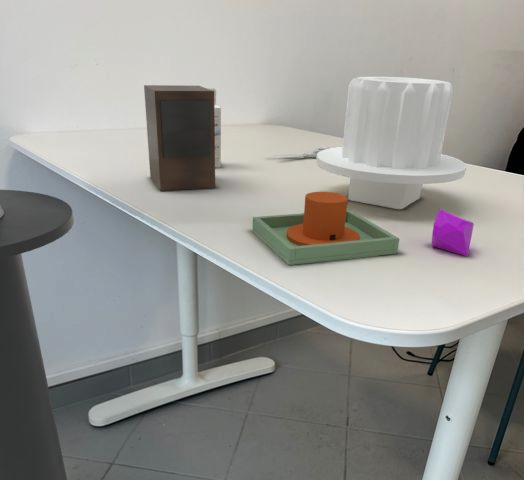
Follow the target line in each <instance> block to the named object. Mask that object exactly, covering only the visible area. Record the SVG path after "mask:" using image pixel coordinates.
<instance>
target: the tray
mask: <svg viewBox="0 0 524 480" xmlns="http://www.w3.org/2000/svg"><path fill="white" fill-rule="evenodd" d="M303 221H304V212H301V213H289V214H276V215H262V216H252V223H251V224H252V225H251V226H252V228H251V232H253V233H254V234H255V236H257V237H258V238H259V239H260V240H261V241H262V242H263V243H264V244H265V245H266V246H268V247H269V249H271V250H272V252H274V253H275V254H276V255H277V256H278V257H280V258H281V259H282V261H284V262H285V263H286V264H287V265H288V266H293V265H303V264H311V263H312V264H313V263H321V262H330V261H331V262H332V261H339V260H349V259H359V258H368V257H376V256H377V257H378V256H386V255H395V254H398V251H399V244H400V237H398V236H396V235H394V234H392V233H391V232H389V231H388V230H387V229H385V228H382V227H380V226H379V225H377V224H375V223H373V222H372V221H370V220H369V219H367V218H365V217H363V216H362V215H360V214H358V213H356V212H354V211H353V210H351V209H347V211H346V219H345V227H348V228H350V229H353V230H355V231H356V232H357V233H358V234H359V235H360V240H357V241H346V242H336V243H325V244H315V245H304V246H298V245H296V244H294V243H292V242H290V241H289V240H288V239H287V236H286V234H287V230H288V229H289V228H290V227H292V226H295V225H298V224H303Z"/></svg>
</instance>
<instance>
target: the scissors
mask: <svg viewBox="0 0 524 480" xmlns="http://www.w3.org/2000/svg"><path fill="white" fill-rule="evenodd" d="M329 148H331V147H329V146H327V147H318V148H315V150H313V151H309V152H305V153H303V154H275V155H273V154H272V157H281V158H280V160H283V159H284V160H285V159H293V158H317V153H318V152H320V151H322V150H325V149H329Z"/></svg>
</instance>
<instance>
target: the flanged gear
mask: <svg viewBox="0 0 524 480" xmlns="http://www.w3.org/2000/svg"><path fill="white" fill-rule="evenodd" d="M453 95H454V87H453V85H452V83H451V82H450V81H446V80H445V81H444V80H440V79H439V80H438V79H430V78H419V77H404V76H374V75H373V76H372V75H371V76H357V77H354V78H352V79H351V80H350V82H349V85H348V89H347V99H346V107H345V108H346V109H345V119H344V126H343V127H344V128H343V138H342V146H335V147H330V148H329V149H325V150H322V151H320V152H318V153H317V157H316V161H315V164H316V166H317V167H318V168H320V170H324V171H326V172H328V173H331V174H334V175H337V176H341V177H346V178H349V184H348V195H347V198H348V201H351V202H355V203H361V204H368V205H373V206H378V207H383V208H389V209H393V210H403V209H405V208H406V207H408V206H409V205H411V204H413V203H414V202H416V201H418V200H419V199H420V198H421V193H422V188H423V185H434V184H442V183H443V184H444V183H449V182H455V181H458V180H460V179H463V178H464V177H465V175H466V171H467V164H466V163H465V162H464V161H462V159H460V158H459V159H458V158H456V157H453V156H451V155H447V154H443V153H442V152H443V148H444V147H443V146H444V142H445V137H446V131H447V125H448V121H449V115H450V110H451V105H452V101H453Z"/></svg>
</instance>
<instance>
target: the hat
mask: <svg viewBox="0 0 524 480" xmlns="http://www.w3.org/2000/svg"><path fill="white" fill-rule="evenodd" d="M348 201H349V199H348V196H346V194H345V195H344V194H342V193H339V192H333V191H312V192H308V193H307V194H305V196H304V208H303V209H304V212H303V213H304V221H303V224H298V225H295V226H292V227H290V228H289V229H288V230H287V234H286V236H287V239H288V240H289V241H290V242H292V243H294V244H296V245H298V246H304V245H315V244H325V243H336V242H346V241H357V240H360V235H359V234H358V233H357V232H356V231H355V230H353V229H350V228H348V227H345V219H346V211H347V210H348Z"/></svg>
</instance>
